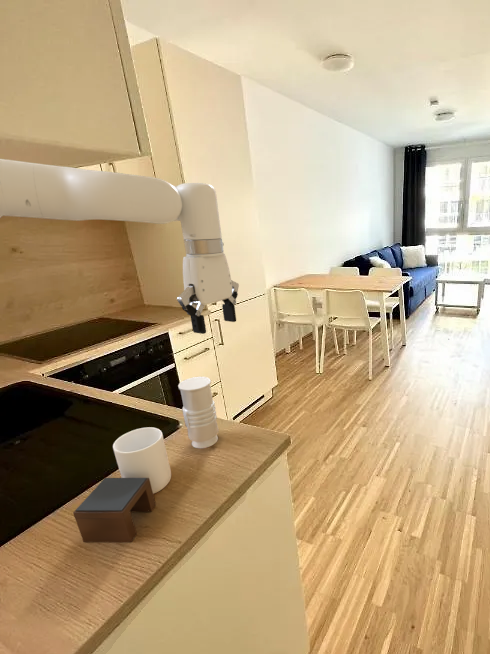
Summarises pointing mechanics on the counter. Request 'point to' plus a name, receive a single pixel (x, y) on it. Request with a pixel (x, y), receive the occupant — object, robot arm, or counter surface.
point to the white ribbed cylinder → (199, 411)
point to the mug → (143, 457)
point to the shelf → (114, 509)
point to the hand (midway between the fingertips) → (215, 326)
